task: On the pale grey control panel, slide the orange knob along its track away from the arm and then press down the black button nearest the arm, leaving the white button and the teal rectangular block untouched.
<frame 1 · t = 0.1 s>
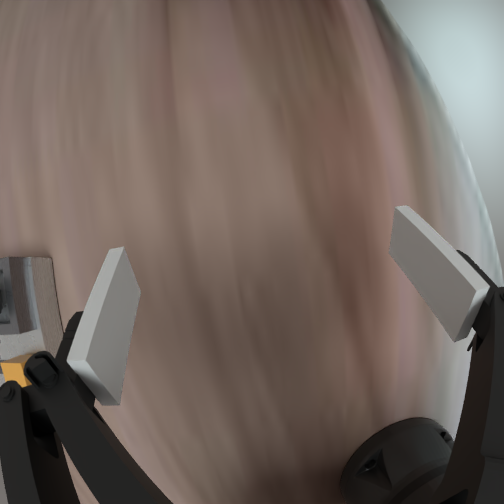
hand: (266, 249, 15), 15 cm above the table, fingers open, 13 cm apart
panel: (10, 330, 29), on the table
slider knob: (24, 373, 23), point 6 cm above the table, slide at 0.0 cm
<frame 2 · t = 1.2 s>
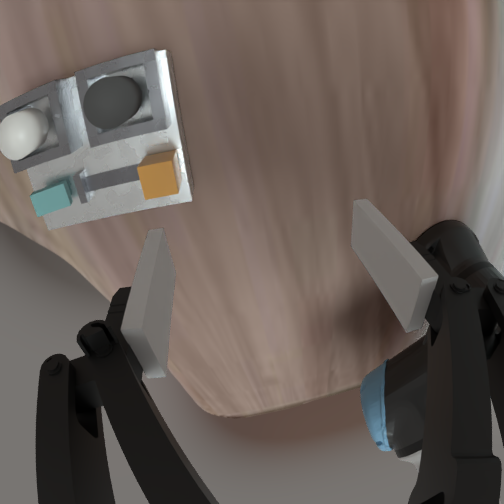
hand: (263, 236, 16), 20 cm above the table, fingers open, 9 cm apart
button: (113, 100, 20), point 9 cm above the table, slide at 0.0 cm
panel: (105, 138, 30), on the table
slider knob: (160, 173, 27), point 6 cm above the table, slide at 0.0 cm
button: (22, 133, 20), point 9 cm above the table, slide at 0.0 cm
teal rectangular block: (51, 198, 27), point 6 cm above the table, hinge at 12.0°
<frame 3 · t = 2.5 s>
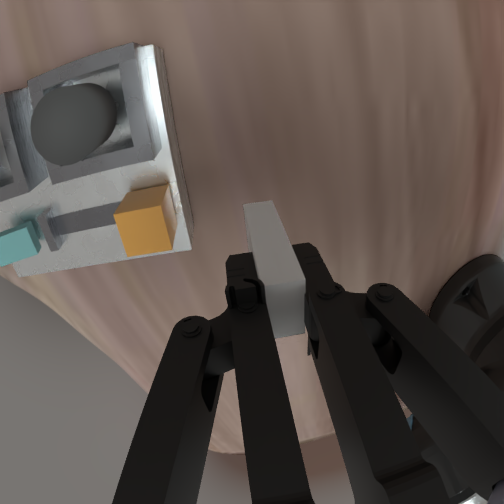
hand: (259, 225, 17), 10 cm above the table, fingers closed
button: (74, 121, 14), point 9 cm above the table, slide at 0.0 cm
panel: (80, 163, 23), on the table
slider knob: (147, 219, 20), point 6 cm above the table, slide at 0.0 cm
teal rectangular block: (15, 244, 20), point 6 cm above the table, hinge at 12.0°
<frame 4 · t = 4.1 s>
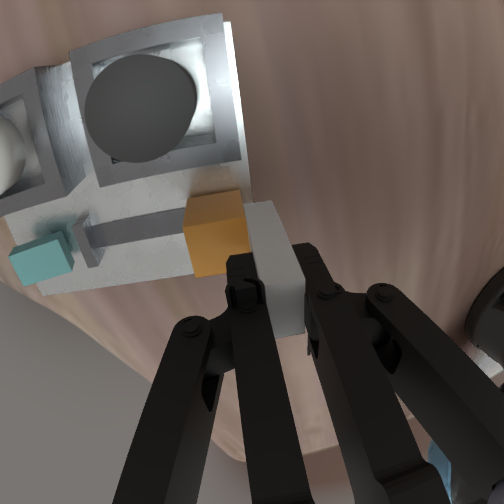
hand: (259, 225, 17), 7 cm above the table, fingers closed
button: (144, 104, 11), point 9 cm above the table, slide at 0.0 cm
panel: (120, 160, 20), on the table
slider knob: (218, 231, 17), point 6 cm above the table, slide at 0.2 cm, touching gripper
teal rectangular block: (41, 259, 17), point 6 cm above the table, hinge at 12.0°
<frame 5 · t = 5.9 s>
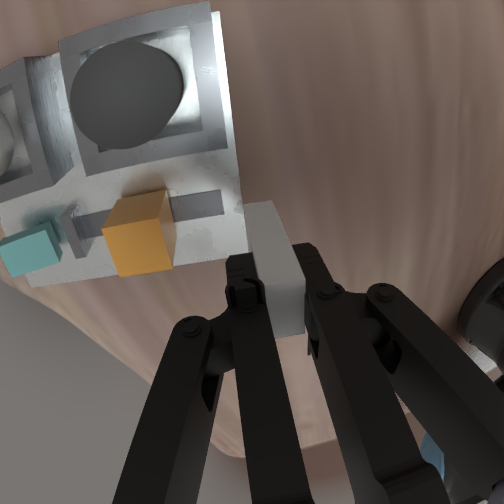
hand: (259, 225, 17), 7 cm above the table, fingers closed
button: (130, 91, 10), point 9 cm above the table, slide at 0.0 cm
panel: (109, 151, 20), on the table
slider knob: (142, 232, 17), point 6 cm above the table, slide at 3.7 cm
teal rectangular block: (29, 250, 17), point 6 cm above the table, hinge at 12.0°
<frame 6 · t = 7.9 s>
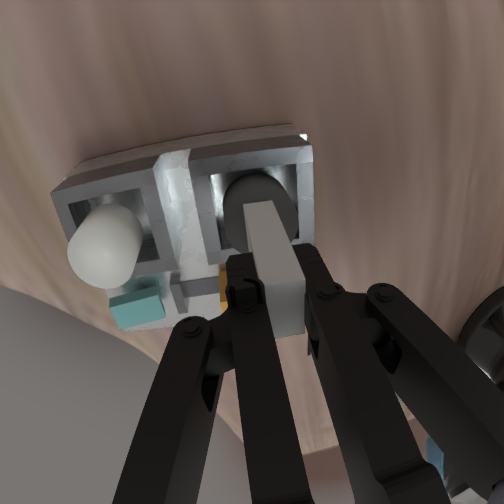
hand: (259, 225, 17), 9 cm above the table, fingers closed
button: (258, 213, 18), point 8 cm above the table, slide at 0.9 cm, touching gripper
panel: (198, 224, 27), on the table
slider knob: (242, 298, 24), point 6 cm above the table, slide at 3.7 cm
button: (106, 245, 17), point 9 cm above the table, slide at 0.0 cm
teal rectangular block: (137, 308, 24), point 6 cm above the table, hinge at 12.0°
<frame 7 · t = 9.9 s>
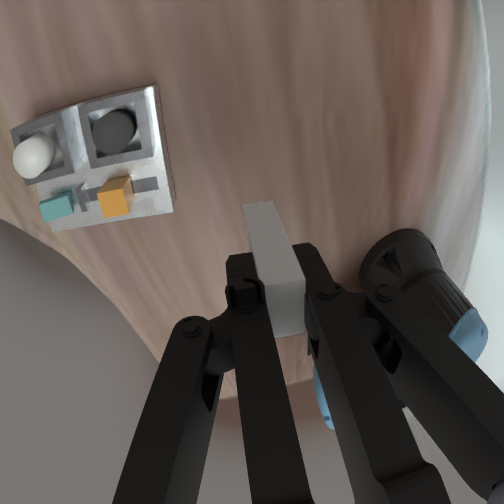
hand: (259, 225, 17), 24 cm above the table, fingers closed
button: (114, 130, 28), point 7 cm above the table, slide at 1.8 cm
panel: (102, 155, 35), on the table
slider knob: (116, 196, 33), point 6 cm above the table, slide at 3.7 cm
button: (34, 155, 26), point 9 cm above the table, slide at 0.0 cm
teal rectangular block: (56, 207, 32), point 6 cm above the table, hinge at 12.0°
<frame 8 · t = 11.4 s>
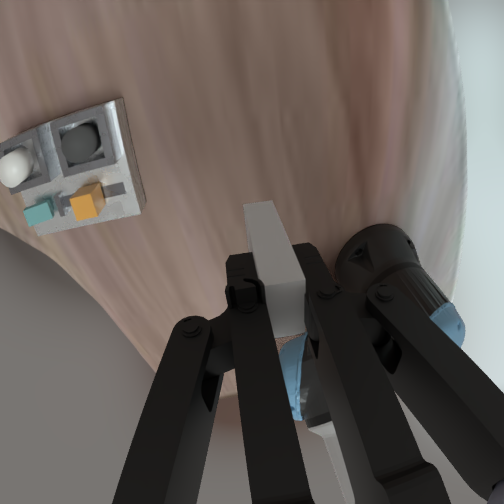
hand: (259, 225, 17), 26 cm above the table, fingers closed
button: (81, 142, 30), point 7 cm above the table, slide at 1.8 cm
panel: (78, 165, 38), on the table
slider knob: (88, 201, 35), point 6 cm above the table, slide at 3.7 cm
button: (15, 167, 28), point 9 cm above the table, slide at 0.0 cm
teal rectangular block: (38, 212, 35), point 6 cm above the table, hinge at 12.0°
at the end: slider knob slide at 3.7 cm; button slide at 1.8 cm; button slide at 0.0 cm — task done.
